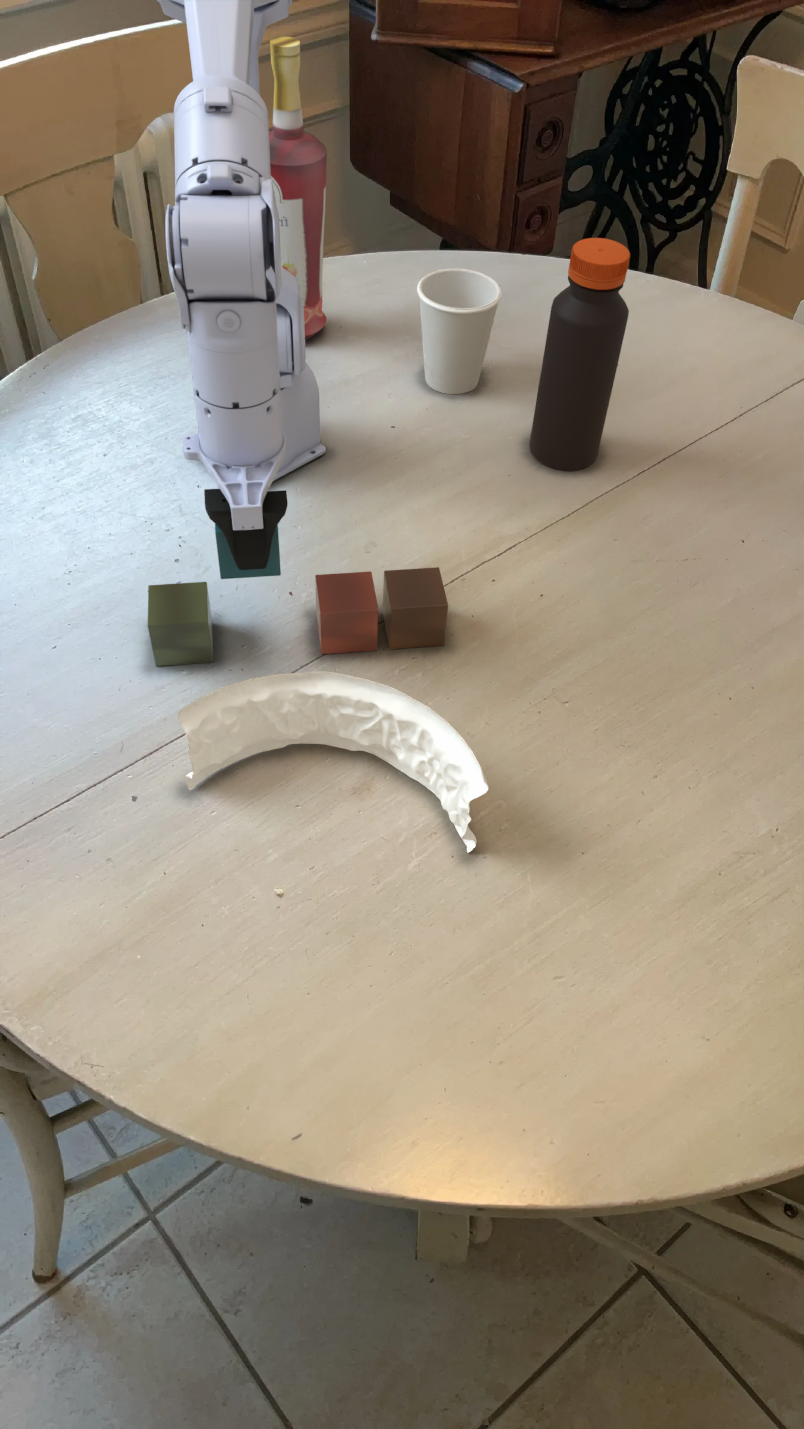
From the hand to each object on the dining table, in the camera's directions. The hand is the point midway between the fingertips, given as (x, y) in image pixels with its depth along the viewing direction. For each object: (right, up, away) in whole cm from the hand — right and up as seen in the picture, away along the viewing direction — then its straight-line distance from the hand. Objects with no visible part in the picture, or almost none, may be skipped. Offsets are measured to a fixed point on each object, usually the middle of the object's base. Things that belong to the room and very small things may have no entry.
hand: (250, 543), depth 80 cm
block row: (+3, -7, +6) cm, 9 cm away
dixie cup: (+17, +22, +31) cm, 42 cm away
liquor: (0, +29, +36) cm, 46 cm away
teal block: (0, -1, +1) cm, 1 cm away
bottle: (+27, +13, +24) cm, 38 cm away
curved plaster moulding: (+6, -19, -5) cm, 20 cm away
